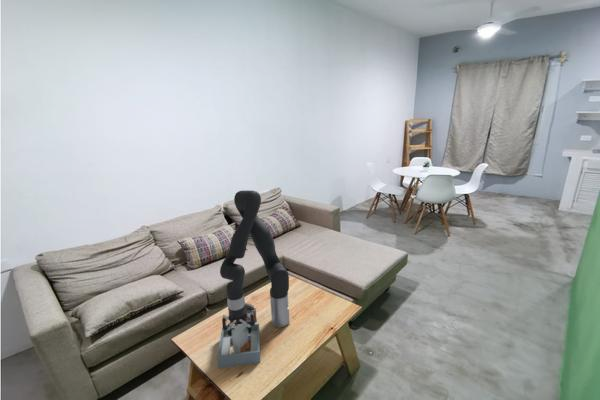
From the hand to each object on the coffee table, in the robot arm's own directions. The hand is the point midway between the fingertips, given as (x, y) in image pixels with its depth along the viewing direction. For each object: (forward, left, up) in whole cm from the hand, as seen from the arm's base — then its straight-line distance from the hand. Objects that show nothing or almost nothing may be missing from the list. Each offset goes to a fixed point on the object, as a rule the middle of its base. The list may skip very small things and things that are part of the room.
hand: (240, 333), depth 136 cm
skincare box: (0, 0, -10) cm, 10 cm away
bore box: (+1, 0, -9) cm, 9 cm away
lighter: (-3, -20, -10) cm, 23 cm away
